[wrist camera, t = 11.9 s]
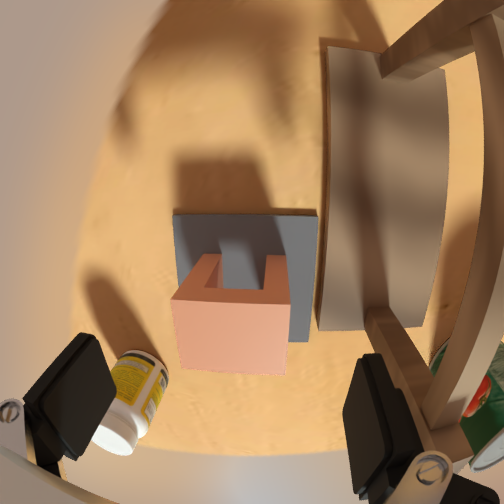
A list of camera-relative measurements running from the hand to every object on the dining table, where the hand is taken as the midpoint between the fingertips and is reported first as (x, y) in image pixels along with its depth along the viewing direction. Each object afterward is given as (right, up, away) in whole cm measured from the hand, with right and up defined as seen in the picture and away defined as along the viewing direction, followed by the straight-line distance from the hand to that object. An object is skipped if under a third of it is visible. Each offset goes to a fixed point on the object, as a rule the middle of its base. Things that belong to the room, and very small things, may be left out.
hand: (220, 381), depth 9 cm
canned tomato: (+21, -5, +11) cm, 24 cm away
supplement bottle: (-8, -6, +14) cm, 17 cm away
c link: (+1, +2, +10) cm, 10 cm away
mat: (+1, +3, +10) cm, 10 cm away
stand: (+10, +8, +7) cm, 14 cm away
